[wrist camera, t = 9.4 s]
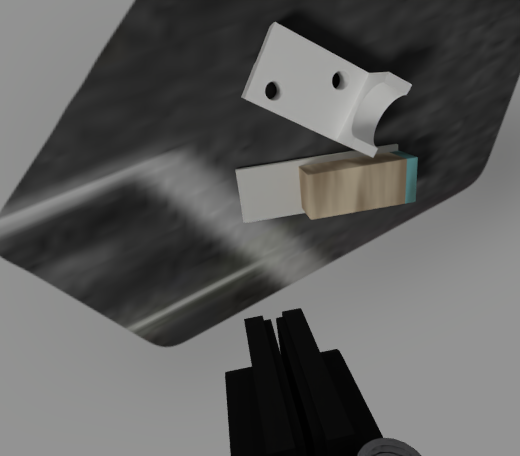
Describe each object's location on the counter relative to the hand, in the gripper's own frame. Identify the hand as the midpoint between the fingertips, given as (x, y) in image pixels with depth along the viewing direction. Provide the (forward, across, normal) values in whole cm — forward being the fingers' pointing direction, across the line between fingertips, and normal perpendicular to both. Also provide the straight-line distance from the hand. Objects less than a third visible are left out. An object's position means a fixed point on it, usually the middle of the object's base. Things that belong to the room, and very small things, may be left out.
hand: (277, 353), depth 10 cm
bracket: (+32, -10, -5) cm, 34 cm away
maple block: (+28, -8, +5) cm, 30 cm away
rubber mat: (+31, -10, +5) cm, 33 cm away
